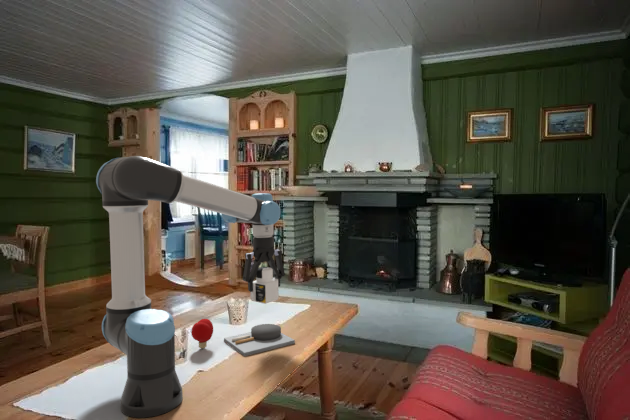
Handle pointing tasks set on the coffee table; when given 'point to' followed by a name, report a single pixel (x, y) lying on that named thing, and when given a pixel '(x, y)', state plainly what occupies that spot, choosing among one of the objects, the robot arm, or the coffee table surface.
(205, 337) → the red toy tree
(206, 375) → the coffee table surface
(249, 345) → the board
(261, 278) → the medicine bottle
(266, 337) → the stub
